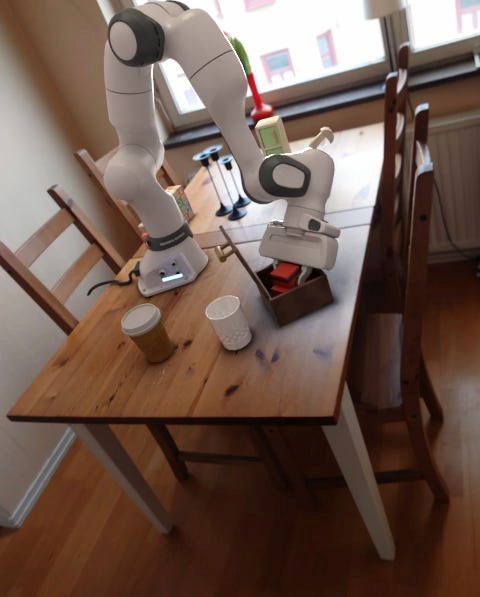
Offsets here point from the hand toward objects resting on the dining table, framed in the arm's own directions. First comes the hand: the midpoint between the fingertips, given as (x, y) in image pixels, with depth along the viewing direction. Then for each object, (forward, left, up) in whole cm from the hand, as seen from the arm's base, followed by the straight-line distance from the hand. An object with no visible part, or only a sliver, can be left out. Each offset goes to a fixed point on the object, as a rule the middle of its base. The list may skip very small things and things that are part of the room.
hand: (288, 282), depth 108 cm
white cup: (-16, -4, -6) cm, 17 cm away
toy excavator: (+29, +52, -6) cm, 60 cm away
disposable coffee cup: (-34, +4, -6) cm, 35 cm away
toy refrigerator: (+23, +68, -6) cm, 72 cm away
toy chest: (+1, 0, -6) cm, 6 cm away
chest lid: (-7, 0, +10) cm, 12 cm away
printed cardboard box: (-21, +66, -6) cm, 69 cm away
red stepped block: (+1, 0, -4) cm, 4 cm away
